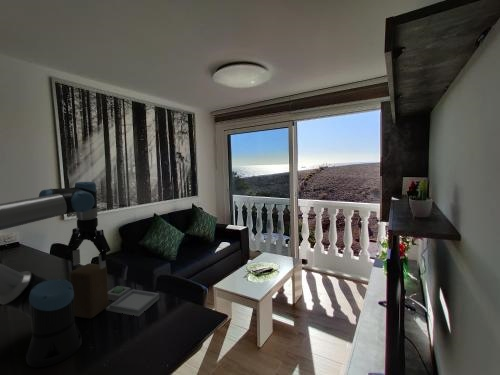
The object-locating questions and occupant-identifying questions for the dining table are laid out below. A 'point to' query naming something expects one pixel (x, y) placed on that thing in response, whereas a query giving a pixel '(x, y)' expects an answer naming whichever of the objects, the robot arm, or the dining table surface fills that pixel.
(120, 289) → the button
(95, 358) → the dining table surface
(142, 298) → the shallow gray rectangular tray
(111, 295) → the button housing
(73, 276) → the wooden block
